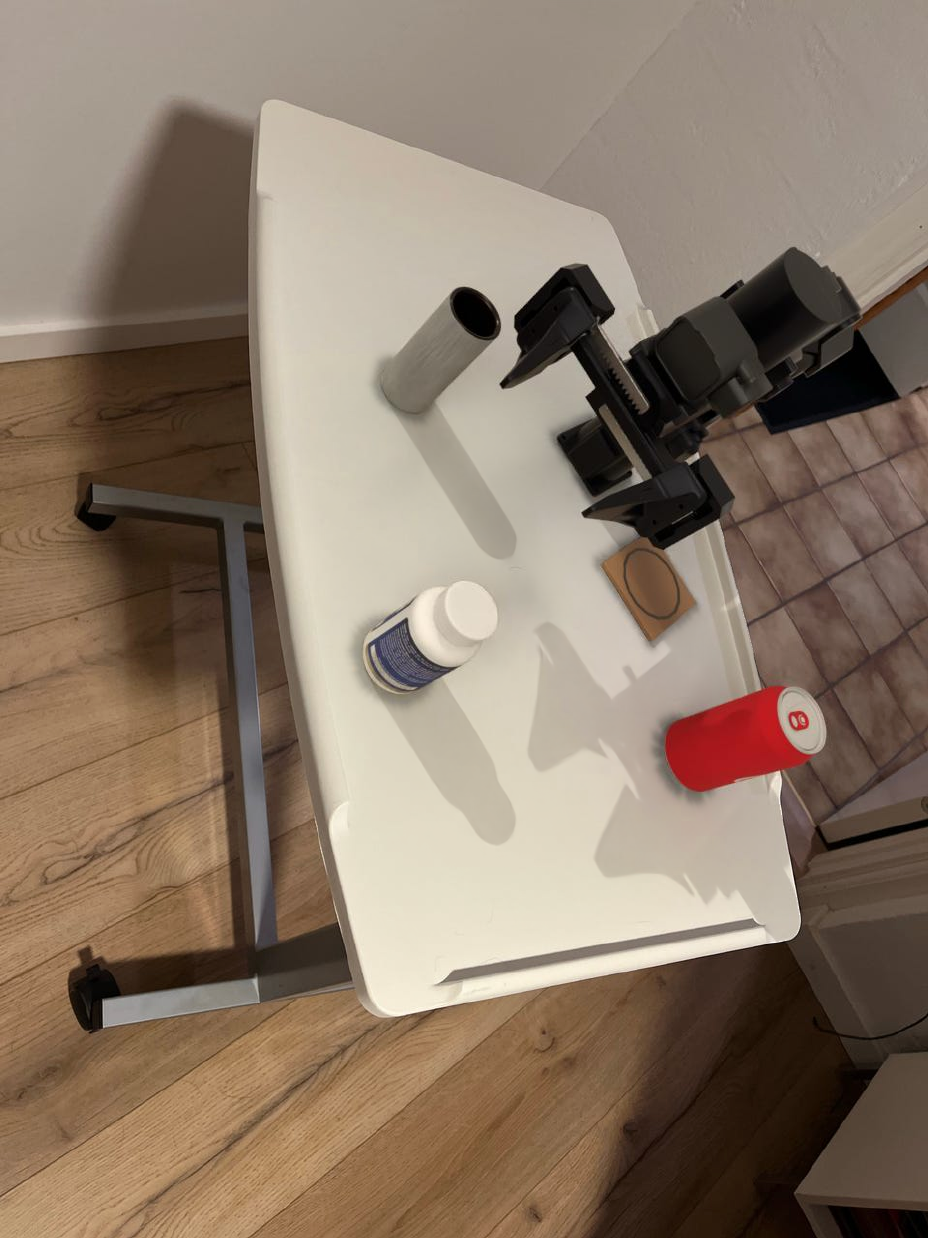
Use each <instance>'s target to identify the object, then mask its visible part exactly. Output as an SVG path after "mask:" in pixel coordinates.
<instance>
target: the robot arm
mask: <svg viewBox="0 0 928 1238" xmlns="http://www.w3.org/2000/svg"><path fill="white" fill-rule="evenodd" d="M615 311H616V307H615V306H614V304H613V302H612V301H611V299H610V297H609V296H608V294H607V292H606V291H605V290H604V288H603V287H602V285H601V283H600V282H599V280H598V278H597V277H596V276H595V274H594V273H593V271H592V269H591V268H590V266H589V265H588V264H587V263H579V262H578V263H571V264H568V265H564V266H561V267H559V269H558V270H556V271H555V272H554V273H553V275H552V276H550V278H549V279H548V280H547V281H546V282H545V283H544V284H543V285H542V286H541V287H540V288H539V289H538V290H537V292H535V293H534V294H533V296H531V297H530V298H529V300H528V301H526V303H524V305H523V306H522V307H521V308H520V309H519V310H517V312H516V313H515V314H514V315H513V329H514V330H515V332H516V334H517V335H516V344H517V346H518V347H519V349H520V352H519V355H518V357H517V359H516V362H515V365H514V366H513V367H512V368H511V369H510V371H508V373H507V374H506V375H505V376H504V377H503V379H502V380H501V381H500V382H499V384H498V385H499V386H500V388H501V390H506V389H513V388H515V387H518V386H519V385H520V384H523V383H524V382H527V381H528V380H530V379H532V378H534V377H537V376H539V375H540V374H541V373H542V372H543V371H545V370H546V369H547V368H548V367H549V366H552V365H553V364H556V363H559V362H560V361H561V360H562V359H564V358H566V357H567V356H569V355H570V354H571V353H573V355H574V356H575V358H576V360H577V361H578V363H579V364H580V366H581V367H582V369H583V371H584V372H585V374H586V376H587V377H588V379H589V380H590V382H591V383H592V385H593V387H594V388H593V389H592V390H591V391H590V392H589V393H588V394H586V395H585V396H584V398H585V399H586V402H587V403H588V405H589V407H590V408H591V409H592V410H593V412H594V415H596V416H594V417H592V418H590V419H588V420H586V421H584V422H582V423H580V424H578V425H575V426H573V427H571V428H569V429H567V430H565V431H563V432H561V433H559V434H558V435H557V436H556V441H557V443H558V444H559V446H560V448H561V449H562V451H563V452H564V454H565V456H566V457H567V459H568V461H569V462H570V464H571V465H572V466H573V468H574V470H575V471H576V473H577V475H578V477H579V478H580V479H581V481H582V483H583V484H584V486H585V488H586V489H587V491H588V492H589V494H590V495H591V496H592V497H594V498H597V497H599V496H600V495H603V494H604V493H605V492H607V491H609V490H611V489H612V488H615V487H616V486H618V485H619V484H621V483H623V482H625V481H627V480H628V479H629V478H631V477H632V476H633V471H632V469H635V470H636V472H637V474H638V475H639V477H640V478H641V482H638V483H636V484H634V485H631V486H628V487H626V488H623V489H621V490H618V491H615V492H613V493H611V494H608V495H606V496H604V497H603V498H601V499H600V500H598V501H596V502H594V503H593V504H592V505H590V506H589V507H587V508H585V509H584V510H583V511H581V513H580V514H581V516H582V517H583V518H584V519H587V520H597V521H606V522H613V523H616V524H620V525H623V526H626V527H629V528H632V529H634V530H635V531H636V533H637V534H638V536H640V537H643V538H648V539H649V541H650V543H651V544H652V546H653V547H656V548H658V549H661V550H663V551H664V550H666V549H668V548H670V547H671V546H673V545H676V544H677V543H679V542H681V541H682V540H684V539H686V538H688V537H690V536H691V535H693V534H695V533H697V532H698V531H701V530H702V529H703V528H706V527H707V526H709V525H711V524H713V523H714V522H716V521H718V520H719V519H721V518H723V517H724V516H725V515H727V514H728V513H730V512H731V511H732V510H733V507H734V503H735V500H736V496H735V494H734V493H733V491H732V490H731V488H730V487H729V484H728V483H727V482H726V480H725V478H724V477H723V476H722V474H721V472H720V471H719V469H718V468H717V466H716V465H715V463H714V461H713V460H712V458H711V457H710V455H709V453H706V454H704V455H702V456H700V457H699V458H697V459H696V460H695V461H693V462H691V463H690V464H689V462H688V460H689V459H690V458H691V457H694V456H695V455H696V454H697V453H699V452H700V449H701V445H702V443H704V442H705V439H706V438H707V437H708V436H710V435H711V433H710V431H709V430H708V427H709V426H711V425H712V424H715V422H717V421H719V420H720V419H722V420H727V419H729V418H730V417H732V416H733V415H735V414H737V413H738V412H740V411H741V410H743V409H744V408H746V407H748V406H749V405H751V406H752V405H753V404H755V403H756V402H759V403H765V402H768V401H769V400H771V399H773V397H775V396H777V395H778V394H780V393H782V391H784V390H785V389H786V388H788V387H789V386H791V385H792V384H793V383H795V381H794V379H795V378H797V377H798V376H800V375H801V374H804V375H805V377H806V378H809V377H811V376H812V375H814V374H816V373H817V372H819V371H820V370H822V369H823V368H825V367H827V366H828V365H830V364H831V363H832V362H834V361H836V360H838V359H839V358H840V357H842V356H843V355H844V354H846V353H848V352H849V351H851V350H852V348H853V347H854V335H855V324H857V323H858V322H859V321H861V320H862V319H863V318H864V316H863V315H862V314H861V313H862V307H861V305H860V304H859V302H858V301H857V300H856V298H855V296H854V295H853V292H852V291H851V290H850V288H849V286H848V285H847V284H846V282H845V281H844V279H843V277H842V276H841V275H837V273H836V272H835V271H832V270H831V269H830V267H829V265H827V264H826V265H823V266H821V265H820V264H819V263H818V262H817V261H816V260H815V259H814V258H812V257H811V256H810V255H809V254H807V253H806V252H804V251H802V250H800V249H798V248H797V247H796V246H790V247H789V248H788V249H786V250H785V251H784V252H783V253H782V254H780V255H779V256H777V257H776V258H775V259H774V260H773V261H772V262H770V263H769V264H768V265H766V266H764V267H763V269H762V270H760V271H759V272H758V273H757V274H756V275H754V276H753V277H752V278H750V279H749V280H748V281H747V282H744V280H743V279H741V278H740V279H738V281H736V282H735V283H733V284H732V285H731V286H729V288H727V289H726V290H725V291H723V292H722V293H721V294H719V296H713V297H711V298H710V299H707V300H706V301H704V302H702V303H700V304H698V305H696V307H694V308H691V309H690V310H687V311H686V312H684V313H682V314H680V315H679V316H677V317H676V318H674V320H673V321H672V322H671V323H670V324H669V325H668V326H667V327H663V328H662V329H661V330H660V331H658V332H657V333H656V334H653V335H650V336H649V337H646V338H644V339H641V340H640V341H638V342H637V343H636V344H635V345H633V346H632V347H631V348H630V349H629V350H628V351H627V352H628V354H629V356H630V357H628V358H627V359H624V360H623V358H622V356H621V355H620V353H619V352H618V350H617V349H616V347H615V346H614V344H613V343H612V340H611V339H610V337H609V336H608V334H607V333H606V332H605V329H604V328H603V327H602V326H603V325H604V324H605V323H606V322H607V321H609V320H610V319H611V317H613V316H614V315H615Z"/></svg>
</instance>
